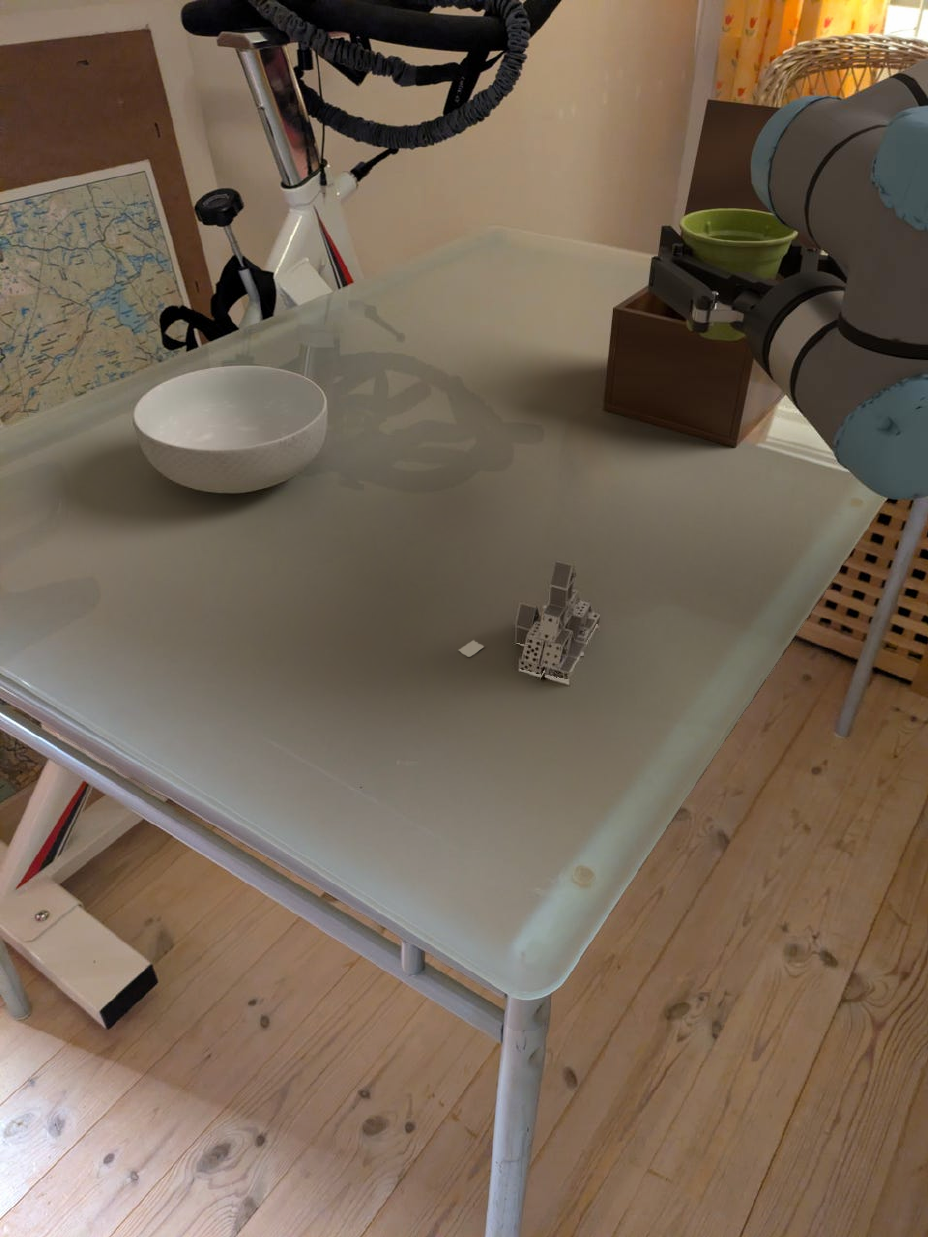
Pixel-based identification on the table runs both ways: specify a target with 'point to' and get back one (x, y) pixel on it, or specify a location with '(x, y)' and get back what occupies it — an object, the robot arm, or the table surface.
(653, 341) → the chest
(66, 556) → the table surface
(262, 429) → the cereal bowl
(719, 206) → the chest lid
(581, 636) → the house of cards
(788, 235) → the plant pot
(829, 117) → the robot arm
